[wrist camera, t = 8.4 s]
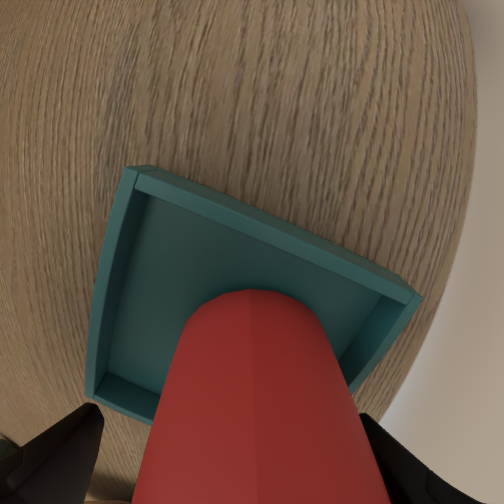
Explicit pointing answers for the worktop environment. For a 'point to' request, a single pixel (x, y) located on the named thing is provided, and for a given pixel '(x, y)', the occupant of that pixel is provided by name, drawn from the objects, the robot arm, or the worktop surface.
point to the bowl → (107, 502)
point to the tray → (219, 284)
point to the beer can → (257, 413)
